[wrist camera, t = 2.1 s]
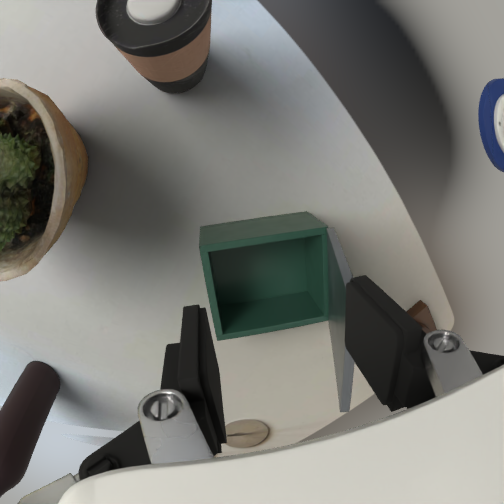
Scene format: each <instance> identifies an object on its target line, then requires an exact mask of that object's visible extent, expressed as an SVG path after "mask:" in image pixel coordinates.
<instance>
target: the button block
mask: <svg viewBox="0 0 504 504" xmlns="http://www.w3.org/2000/svg"><path fill="white" fill-rule="evenodd" d="M407 313H408V314H409V315H410V316H411V317H412V318H413V319H414V320H415V321H416V322H417V323H419V324H420V325H421V326H422V330H423V331H424V332H425V333H426V334H427V333H429V332H431V331H434V330H437V329H436V326H435V324H434V321H433V319H432V316H431V314H430V311H429V309H428V306H427V305H426V304H424V303H423V302H422V301H421V300H420V301H419V302H417V303H416V304H415V305H414V306H413V307H412V308H410V309H409V310H408V311H407Z"/></svg>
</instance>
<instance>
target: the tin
mask: <svg viewBox="0 0 504 504" xmlns="http://www.w3.org/2000/svg"><path fill="white" fill-rule="evenodd" d="M326 228H328V226H327V225H325V224H324V223H322V222H321V221H320V220H318V219H317V218H315V217H314V216H312V215H311V214H310V213H308V212H307V211H306V212H299V213H291V214H284V215H277V216H269V217H262V218H255V219H249V220H242V221H235V222H228V223H222V224H215V225H209V226H202V227H200V239H199V249H200V254H201V260H202V265H203V271H204V276H205V282H206V287H207V292H208V297H209V303H210V308H211V313H212V318H213V323H214V328H215V332H216V337H217V341H219V340H226V339H232V338H238V337H244V336H250V335H256V334H261V333H267V332H273V331H278V330H283V329H288V328H294V327H299V326H304V325H308V324H313V323H318V322H323V321H327V320H329V316H328V257H327V232H326Z"/></svg>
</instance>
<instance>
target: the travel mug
mask: <svg viewBox="0 0 504 504" xmlns="http://www.w3.org/2000/svg"><path fill="white" fill-rule="evenodd" d="M211 7H212V0H97V5H96V18H97V22H98V25H99V27H100V30H101V31H102V33H103V34H104V36H105V37H106V38H107V39H109V40H110V41H111V42H112V43H113V44H114V46H115V47H116V48H117V49H118V50H119V51H120V52H121V53H122V54H123V56H124V57H125V58H126V59H127V60H128V61H129V62H130V63H131V65H132V66H133V67H134V68H135V69H136V70H137V71H138V72H139V73H140V74H141V75H142V76H143V77H144V78H146V79H147V80H148V81H149V82H150V83H152V84H153V85H154V86H155V87H157V88H158V89H160V90H162V91H164V92H168V93H180V92H184V91H187V90H189V89H191V88H193V87H194V86H195V85H197V84H198V83H199V82H200V80H201V79H202V77H203V76H204V73H205V71H206V67H207V61H208V55H209V49H210V32H211Z"/></svg>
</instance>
